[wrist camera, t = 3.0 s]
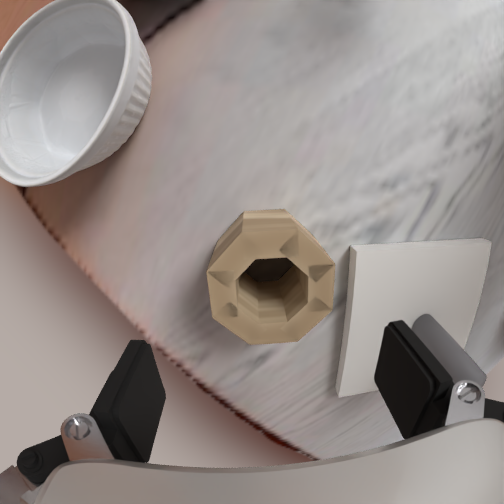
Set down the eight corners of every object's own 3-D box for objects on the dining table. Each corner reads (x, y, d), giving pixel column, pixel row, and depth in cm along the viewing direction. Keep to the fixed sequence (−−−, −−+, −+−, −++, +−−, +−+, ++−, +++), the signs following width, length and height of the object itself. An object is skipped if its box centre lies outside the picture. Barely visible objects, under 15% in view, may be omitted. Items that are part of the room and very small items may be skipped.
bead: (215, 213, 20) (202, 234, 15) (312, 208, 20) (336, 227, 15) (223, 300, 23) (216, 345, 17) (311, 295, 23) (329, 338, 17)
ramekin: (98, 6, 14) (59, -27, 8) (204, 73, 17) (183, 36, 11) (14, 125, 17) (-37, 125, 11) (96, 209, 20) (44, 232, 14)
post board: (350, 245, 21) (418, 312, 11) (482, 237, 21) (557, 277, 11) (335, 387, 26) (361, 471, 16) (450, 361, 26) (494, 418, 16)
